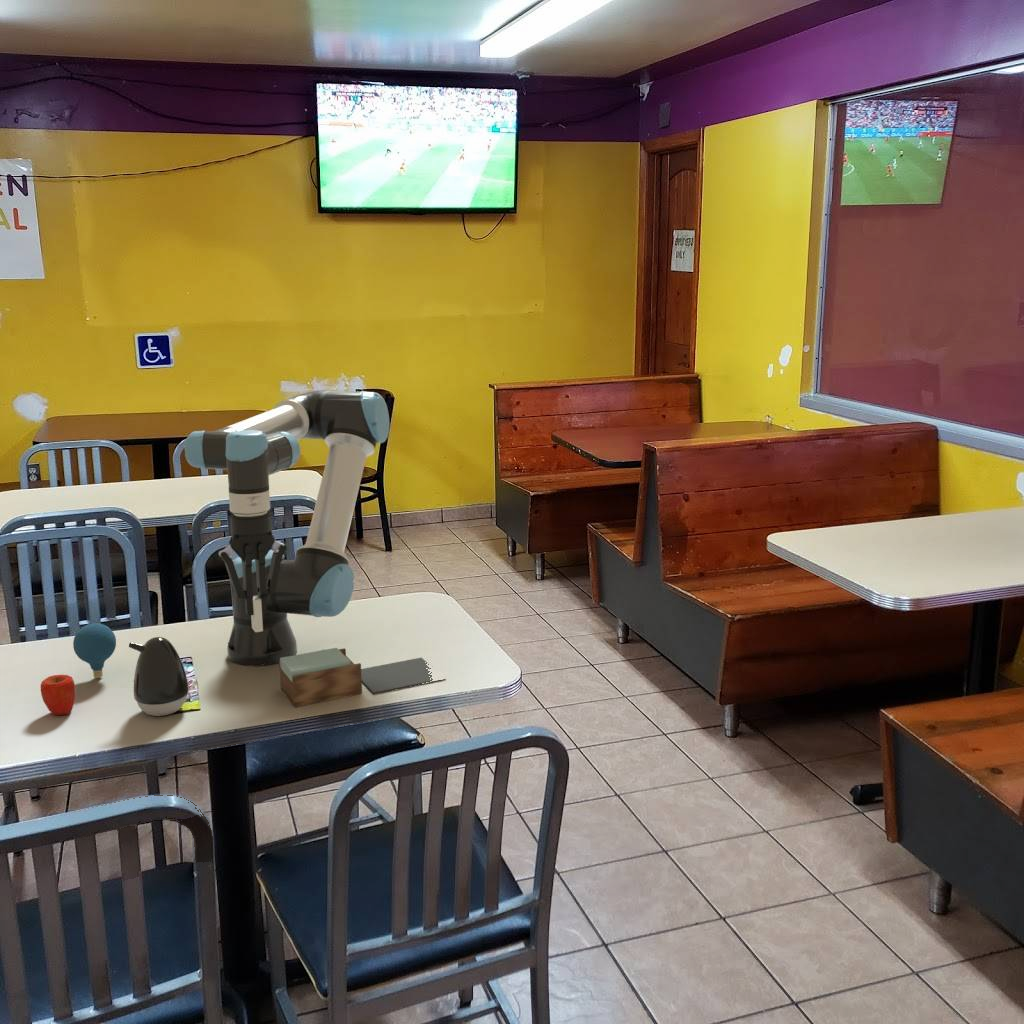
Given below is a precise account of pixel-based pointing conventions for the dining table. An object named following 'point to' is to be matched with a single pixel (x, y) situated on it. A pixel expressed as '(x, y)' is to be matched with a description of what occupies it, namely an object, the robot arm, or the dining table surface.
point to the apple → (58, 694)
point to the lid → (313, 662)
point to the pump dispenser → (159, 678)
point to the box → (322, 684)
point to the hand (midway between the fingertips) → (257, 629)
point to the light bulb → (94, 646)
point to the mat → (395, 675)
